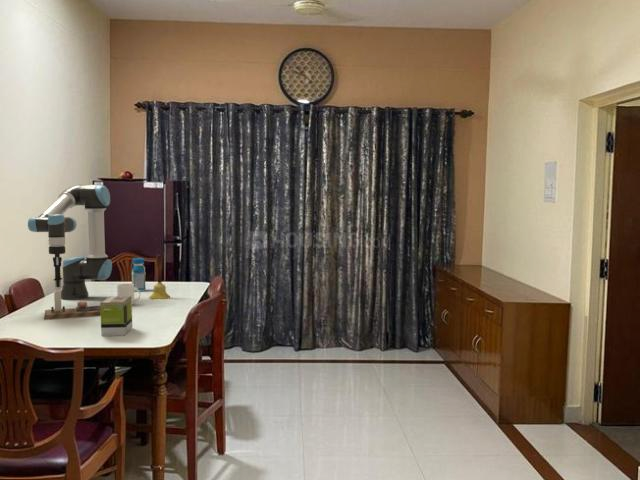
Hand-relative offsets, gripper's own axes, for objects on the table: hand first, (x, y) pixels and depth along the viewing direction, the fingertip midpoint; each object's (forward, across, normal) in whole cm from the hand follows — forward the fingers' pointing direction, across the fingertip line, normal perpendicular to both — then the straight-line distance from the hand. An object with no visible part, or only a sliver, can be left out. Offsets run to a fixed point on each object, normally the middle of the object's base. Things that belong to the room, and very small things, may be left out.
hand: (58, 293), depth 296 cm
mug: (+11, -15, +35) cm, 40 cm away
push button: (+6, +5, +11) cm, 13 cm away
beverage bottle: (+11, -61, +45) cm, 77 cm away
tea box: (+10, +51, +23) cm, 57 cm away
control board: (+11, +5, +12) cm, 17 cm away
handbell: (+11, -31, +54) cm, 63 cm away
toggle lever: (+7, +5, 0) cm, 9 cm away
